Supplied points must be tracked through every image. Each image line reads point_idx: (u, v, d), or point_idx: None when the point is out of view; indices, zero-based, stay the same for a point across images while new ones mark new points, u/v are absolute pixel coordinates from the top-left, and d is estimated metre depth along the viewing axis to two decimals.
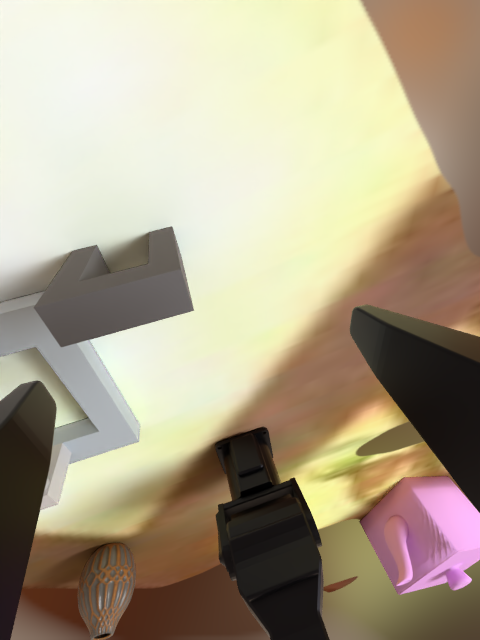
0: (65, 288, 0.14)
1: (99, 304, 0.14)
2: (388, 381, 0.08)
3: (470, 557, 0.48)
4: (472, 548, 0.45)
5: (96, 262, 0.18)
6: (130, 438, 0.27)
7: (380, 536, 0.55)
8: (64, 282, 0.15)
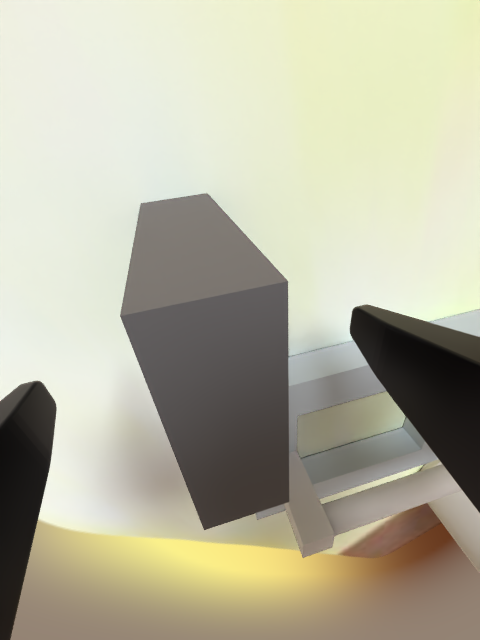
0: None
1: (215, 467, 0.06)
2: (388, 381, 0.08)
3: None
4: None
5: None
6: None
7: None
8: None
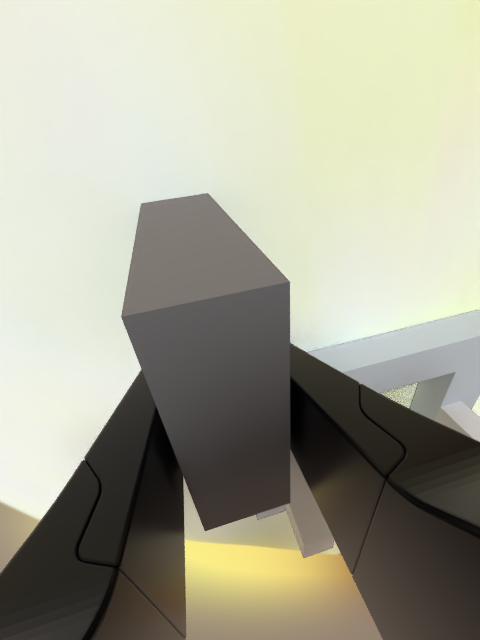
0: None
1: (216, 468, 0.06)
2: None
3: None
4: None
5: None
6: None
7: None
8: None
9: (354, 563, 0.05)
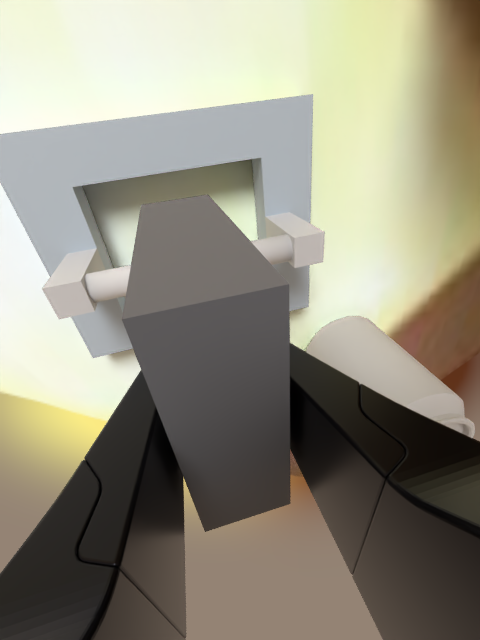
0: None
1: (216, 469, 0.06)
2: None
3: None
4: None
5: None
6: (298, 108, 0.15)
7: None
8: None
9: (354, 563, 0.05)
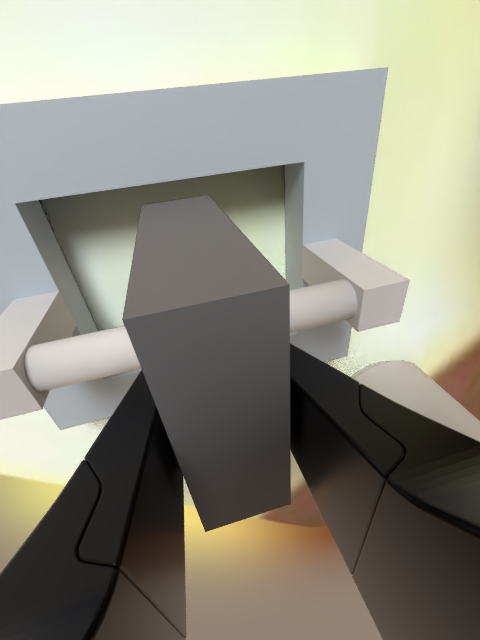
0: None
1: (216, 470, 0.06)
2: None
3: None
4: None
5: None
6: (364, 89, 0.10)
7: None
8: None
9: (354, 563, 0.05)
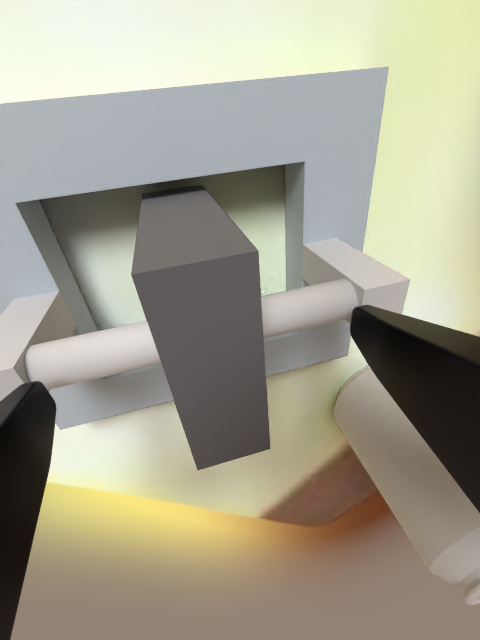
0: None
1: (205, 410, 0.08)
2: (388, 381, 0.08)
3: None
4: None
5: None
6: (365, 88, 0.10)
7: None
8: None
9: None
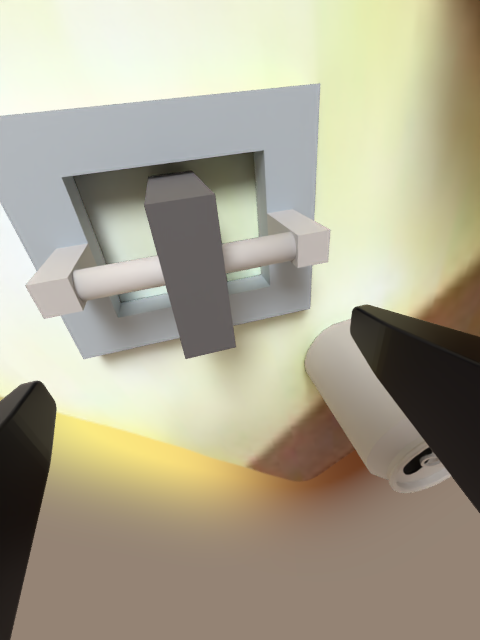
0: None
1: (189, 307, 0.12)
2: (388, 381, 0.08)
3: None
4: None
5: None
6: (304, 98, 0.14)
7: None
8: None
9: None
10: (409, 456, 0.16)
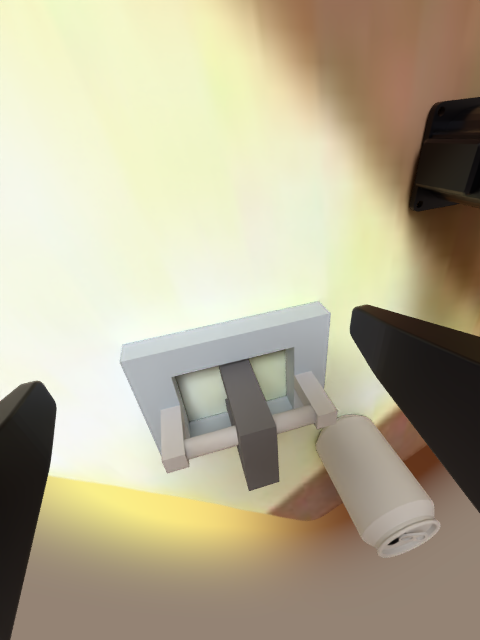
0: (243, 466, 0.22)
1: (255, 469, 0.20)
2: (388, 381, 0.08)
3: None
4: None
5: None
6: (320, 321, 0.23)
7: None
8: (240, 458, 0.23)
9: None
10: (389, 539, 0.25)
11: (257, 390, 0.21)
